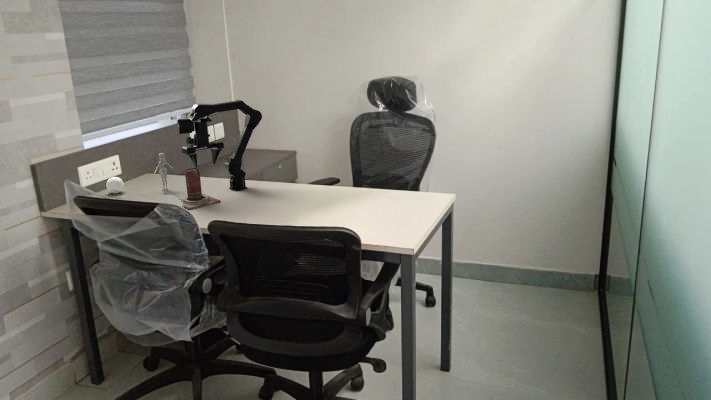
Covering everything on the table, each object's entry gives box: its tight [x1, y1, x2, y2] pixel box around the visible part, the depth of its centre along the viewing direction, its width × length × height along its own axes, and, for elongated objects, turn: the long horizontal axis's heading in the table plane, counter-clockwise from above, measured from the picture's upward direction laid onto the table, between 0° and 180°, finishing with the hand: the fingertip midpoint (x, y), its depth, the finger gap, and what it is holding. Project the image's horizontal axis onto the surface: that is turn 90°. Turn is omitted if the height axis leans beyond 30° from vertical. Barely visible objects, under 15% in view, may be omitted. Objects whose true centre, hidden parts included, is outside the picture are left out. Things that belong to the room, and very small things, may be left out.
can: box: [184, 167, 203, 201], centre depth 245 cm, size 6×6×14 cm
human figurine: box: [153, 152, 174, 192], centre depth 265 cm, size 12×4×18 cm, turn 152°
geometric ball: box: [105, 176, 125, 194], centre depth 264 cm, size 8×8×8 cm
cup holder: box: [179, 193, 221, 211], centre depth 247 cm, size 15×15×2 cm
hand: (205, 166), depth 257 cm, fingers open, 9 cm apart
